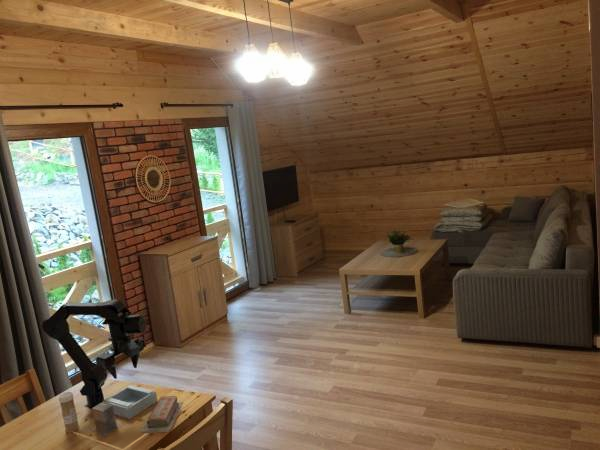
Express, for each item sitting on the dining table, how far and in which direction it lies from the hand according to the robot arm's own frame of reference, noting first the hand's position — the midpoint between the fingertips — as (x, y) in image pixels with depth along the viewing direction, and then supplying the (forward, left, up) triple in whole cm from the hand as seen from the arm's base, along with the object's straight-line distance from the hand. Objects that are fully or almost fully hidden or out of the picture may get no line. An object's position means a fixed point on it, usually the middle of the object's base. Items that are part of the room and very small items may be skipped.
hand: (125, 373), depth 197 cm
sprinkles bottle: (-6, -21, -13) cm, 25 cm away
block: (+6, -16, -12) cm, 21 cm away
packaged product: (+20, -3, -13) cm, 25 cm away
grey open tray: (+2, -2, -12) cm, 13 cm away
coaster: (+6, -16, -12) cm, 21 cm away
